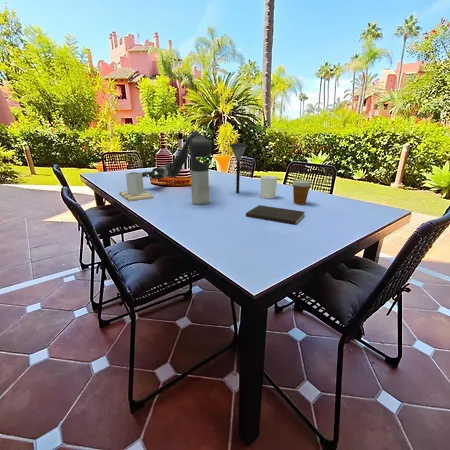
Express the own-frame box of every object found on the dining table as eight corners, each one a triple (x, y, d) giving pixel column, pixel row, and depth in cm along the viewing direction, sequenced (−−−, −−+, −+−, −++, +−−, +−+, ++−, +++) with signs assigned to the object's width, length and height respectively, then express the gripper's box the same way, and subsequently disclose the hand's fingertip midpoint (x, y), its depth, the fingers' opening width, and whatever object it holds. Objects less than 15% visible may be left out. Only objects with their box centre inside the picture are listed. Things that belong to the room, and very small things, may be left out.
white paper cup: (277, 199, 156) (278, 178, 152) (260, 198, 156) (261, 178, 152) (274, 195, 165) (276, 175, 161) (258, 195, 165) (259, 175, 161)
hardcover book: (258, 209, 137) (259, 205, 137) (304, 216, 127) (305, 211, 126) (245, 217, 124) (245, 212, 123) (295, 226, 114) (295, 220, 113)
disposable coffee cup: (288, 204, 146) (290, 181, 142) (293, 200, 154) (295, 179, 150) (306, 206, 142) (309, 183, 138) (310, 202, 150) (312, 180, 146)
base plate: (153, 198, 156) (152, 188, 154) (128, 201, 148) (127, 191, 147) (142, 191, 171) (141, 183, 170) (119, 194, 164) (118, 185, 162)
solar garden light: (247, 191, 175) (249, 143, 165) (247, 195, 164) (249, 144, 154) (228, 190, 176) (229, 142, 166) (227, 195, 165) (227, 143, 155)
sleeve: (147, 192, 162) (145, 172, 158) (137, 195, 154) (135, 174, 150) (134, 191, 165) (132, 171, 161) (124, 194, 157) (122, 173, 153)
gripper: (150, 166, 182) (135, 169, 167) (169, 167, 178) (155, 170, 163) (151, 177, 184) (136, 181, 170) (169, 179, 180) (156, 183, 166)
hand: (145, 176), depth 166 cm, fingers open, 8 cm apart
